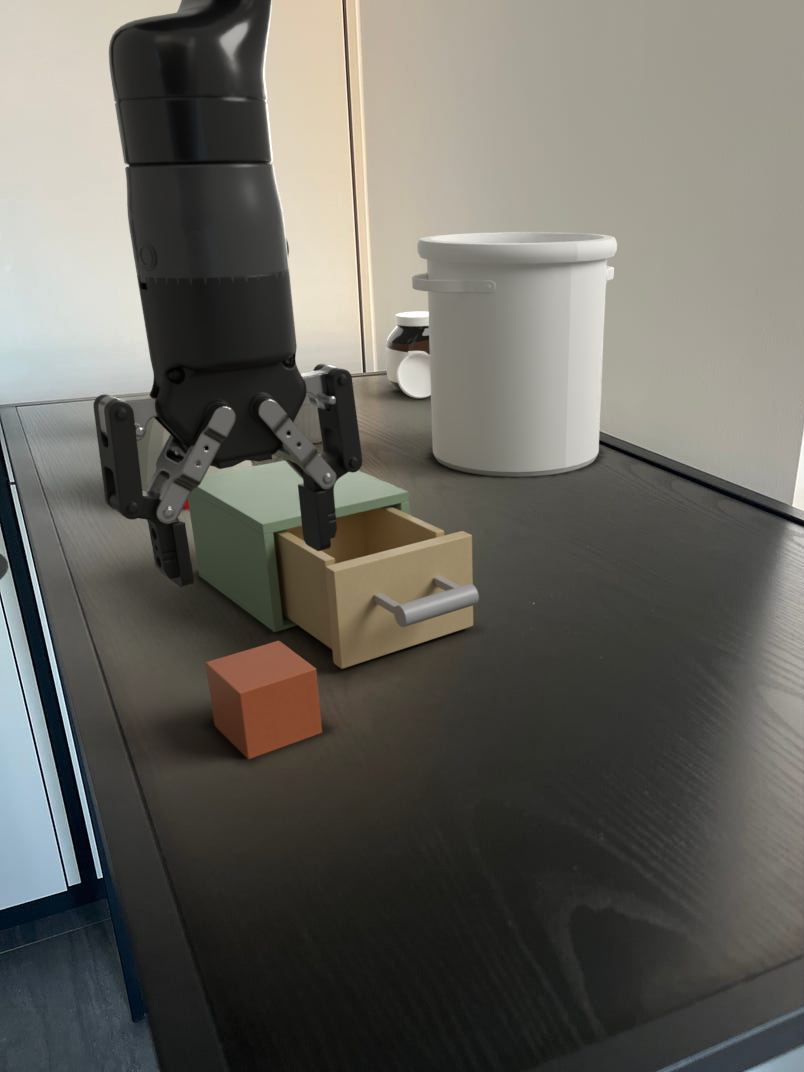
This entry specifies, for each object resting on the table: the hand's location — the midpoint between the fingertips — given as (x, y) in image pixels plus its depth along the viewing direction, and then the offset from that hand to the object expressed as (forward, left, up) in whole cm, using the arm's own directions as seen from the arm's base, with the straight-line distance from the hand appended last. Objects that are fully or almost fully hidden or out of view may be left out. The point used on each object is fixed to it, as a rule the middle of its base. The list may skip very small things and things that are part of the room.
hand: (251, 563), depth 56 cm
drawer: (+13, +8, -11) cm, 19 cm away
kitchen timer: (+16, +52, -12) cm, 56 cm away
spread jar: (+66, +81, -12) cm, 105 cm away
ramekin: (+37, +68, -12) cm, 78 cm away
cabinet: (+13, +20, -12) cm, 26 cm away
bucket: (+53, +41, -12) cm, 68 cm away
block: (0, 0, -12) cm, 12 cm away
